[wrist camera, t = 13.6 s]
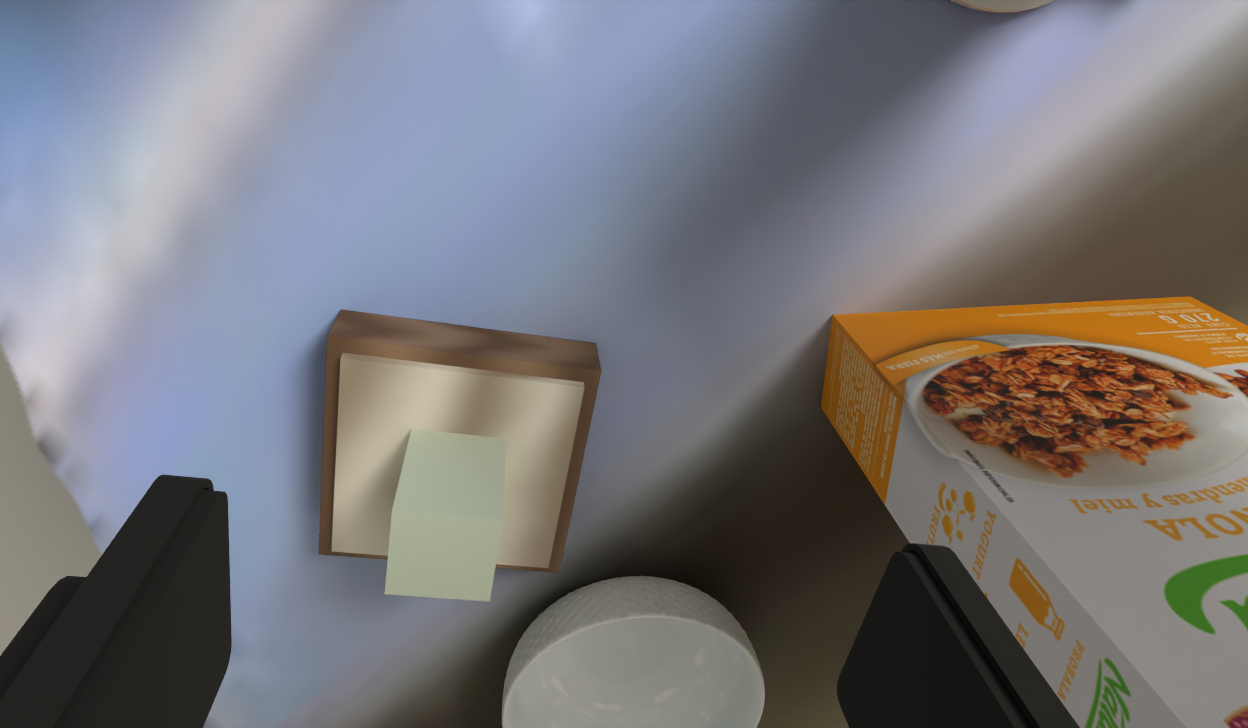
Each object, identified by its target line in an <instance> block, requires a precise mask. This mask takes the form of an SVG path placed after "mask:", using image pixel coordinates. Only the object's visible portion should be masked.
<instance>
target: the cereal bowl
mask: <svg viewBox="0 0 1248 728" xmlns="http://www.w3.org/2000/svg"><path fill="white" fill-rule="evenodd" d="M764 702H765V686H764V679H763V673H762V671H761V668H760V663H759V661H758V659H757V656H756V653H755V651H754V649H753V646H752V644H751V642H750V640H749V639H748V637H747V634H746V632H745V631H744V630H743V629H742V627H741V626H740V623H739V622H738V621H737V620H736V619H735V618H734V616H733V615H732V614H731V613H730V612H729V611H728V610H727V609H726V608H725V607H724V606H723V605H721V604H720V603H719V602H718V601H717V600H716V599H714V598H712V597H711V596H709V595H708V594H706V593H703V592H701V591H700V590H699V589H697V588H694V587H691V586H690V585H686V584H684V583H680V582H678V581H673V580H669V579H665V578H658V577H652V576H649V577H646V576H634V577H633V576H628V577H621V578H614V579H607V580H602V581H600V582H595V583H593V584H590V585H588V586H583V587H581V588H580V589H576V590H575V591H574V592H569V593H568V594H567V595H566V596H564V597H562V598H560V599H559V600H557V601H556V602H555V603H554V604H552V605H550V606H549V607H548V608H547V609H546V610H545V611H544V612H542V613H541V614H539V616H538V617H537V618H536V620H534V621H533V622H532V623H531V624H530V626H529V628H528V629H527V630H526V631H525V632H524V634H523V636H522V638H521V639H520V640H519V641H518V644H517V647H516V648H515V650H514V652H513V655H512V658H511V660H510V662H509V667H508V669H507V675H506V678H505V682H504V690H503V700H502V728H756V727H757V725H758V723H759V721H760V718H761V715H762V712H763V708H764Z"/></svg>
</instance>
